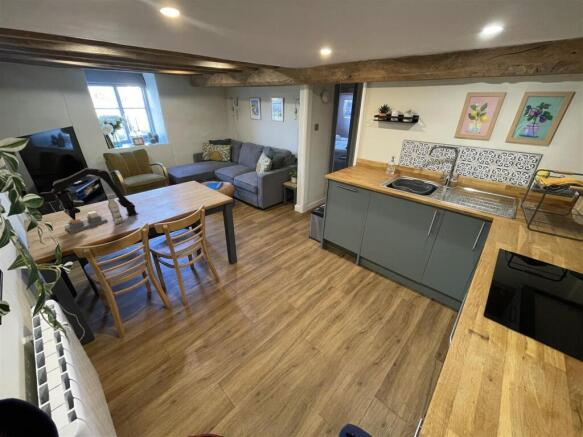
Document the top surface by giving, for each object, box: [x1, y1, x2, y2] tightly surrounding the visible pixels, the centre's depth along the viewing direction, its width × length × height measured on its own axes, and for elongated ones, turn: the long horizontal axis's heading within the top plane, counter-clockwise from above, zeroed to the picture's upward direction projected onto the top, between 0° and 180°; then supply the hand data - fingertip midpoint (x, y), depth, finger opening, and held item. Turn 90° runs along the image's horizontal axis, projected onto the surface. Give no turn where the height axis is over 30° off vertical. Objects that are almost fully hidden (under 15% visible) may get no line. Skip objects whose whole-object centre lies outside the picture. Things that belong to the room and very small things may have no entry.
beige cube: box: [87, 210, 99, 218], centre depth 175 cm, size 4×4×4 cm
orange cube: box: [69, 217, 81, 224], centre depth 168 cm, size 4×4×4 cm
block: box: [64, 214, 109, 234], centre depth 173 cm, size 12×22×5 cm, turn 147°
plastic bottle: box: [107, 197, 124, 225], centre depth 174 cm, size 6×7×20 cm
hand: (74, 219), depth 167 cm, fingers closed, pressing on orange cube
